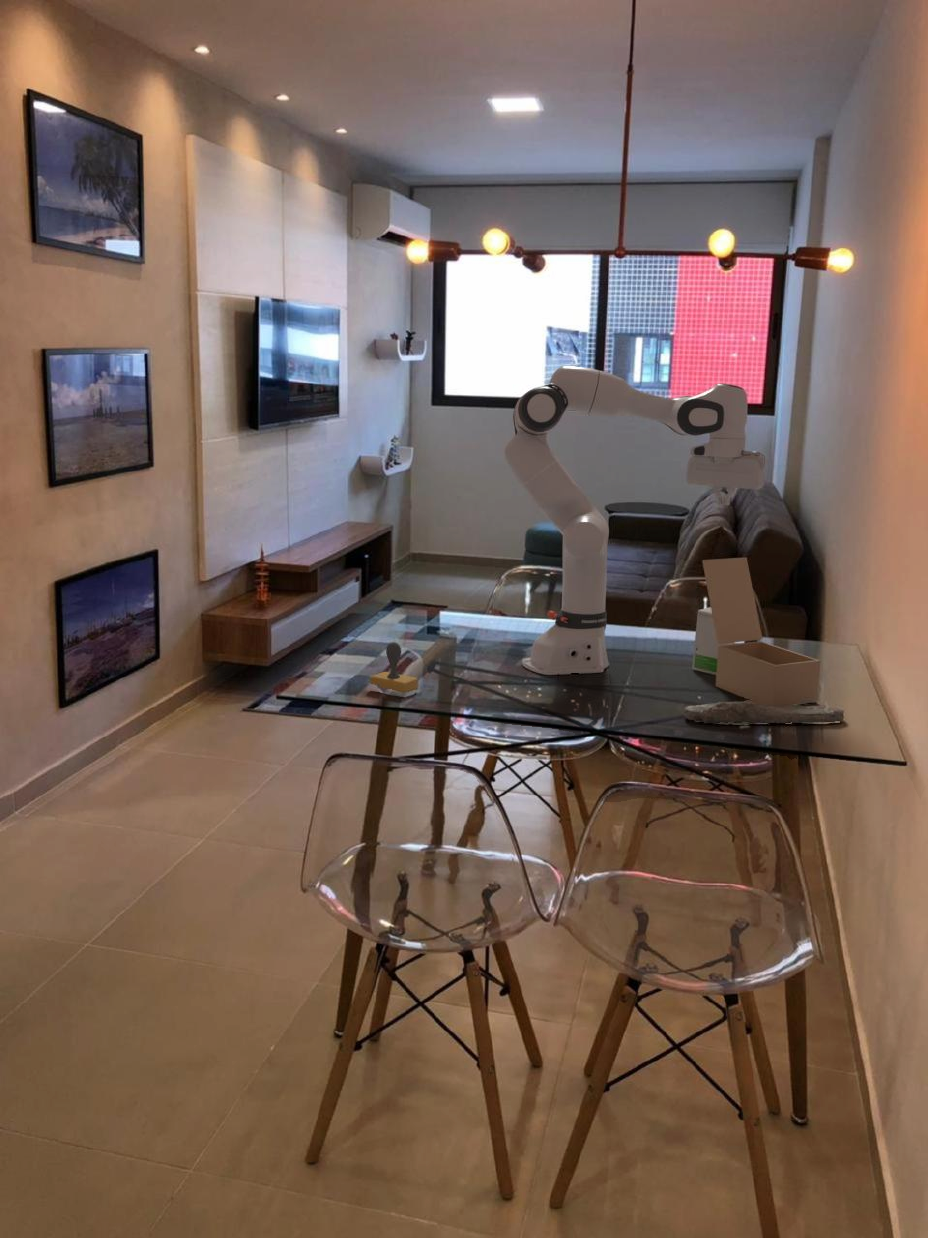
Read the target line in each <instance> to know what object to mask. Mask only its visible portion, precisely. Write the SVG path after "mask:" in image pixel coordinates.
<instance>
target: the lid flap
mask: <svg viewBox="0 0 928 1238" xmlns="http://www.w3.org/2000/svg"><path fill="white" fill-rule="evenodd" d="M702 567H703V571H704V577H705V583H706V588H707V589H706V590H707V593H708V598H709V604H710V607H711V610H712V616H713V621H714V626H715V632H716V637H717V643H718V644H723V643H733V642H735V643H741V642H742V643H743V642H752V641H761V640H763V635H762V630H761V625H760V620H759V615H758V610H757V603H756V600H755V593H754V589H753V583H752V578H751V573H750V568H749V564H748V558H747V557H730V558H719V559H718V558H716V559H715V558H714V559H703V560H702Z"/></svg>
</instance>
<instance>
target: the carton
mask: <svg viewBox="0 0 928 1238" xmlns="http://www.w3.org/2000/svg"><path fill="white" fill-rule="evenodd" d="M820 669H821V660H820V659H817V658H814V657H811V656H807V655H805V654H802V653H798V652H795V651H792V650H789V649H787V648H783V647H780V646H777V645H775V644H771V643H768V642H765V641H761V640H759V641H753V642H752V641H749V642H742V643H741V642H740V643H735V644H732V645H722V646H718V659H717V673H716V675H715V677H716V678H715V687H717V688H719V689H722V690H724V691H726V692H729V693H731V694H734V695H736V696H737V697H738V696H739V697H741V698H743V697H744V698H743V699H745V700H748V699H749V700H750V701H754V702H756V703H757V704H763V705H770V706H771V705H793V704H798V703H804V702H810V701H817V700H818V693H819V692H818V691H819V681H820V679H819V678H820ZM817 702H818V701H817Z"/></svg>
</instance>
